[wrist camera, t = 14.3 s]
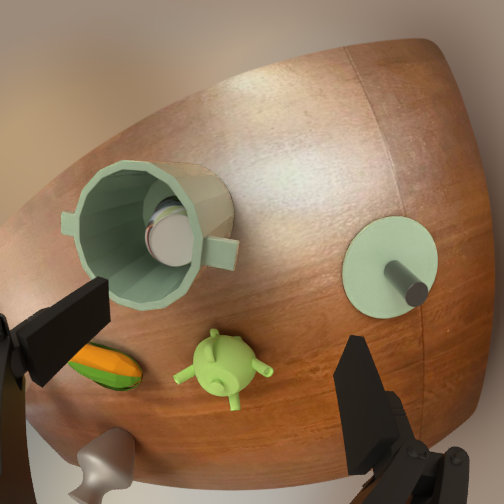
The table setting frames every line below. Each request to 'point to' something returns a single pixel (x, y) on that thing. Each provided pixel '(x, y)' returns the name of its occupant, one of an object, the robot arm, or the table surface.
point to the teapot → (224, 366)
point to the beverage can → (170, 233)
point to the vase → (105, 466)
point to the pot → (135, 222)
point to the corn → (107, 367)
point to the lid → (389, 267)
